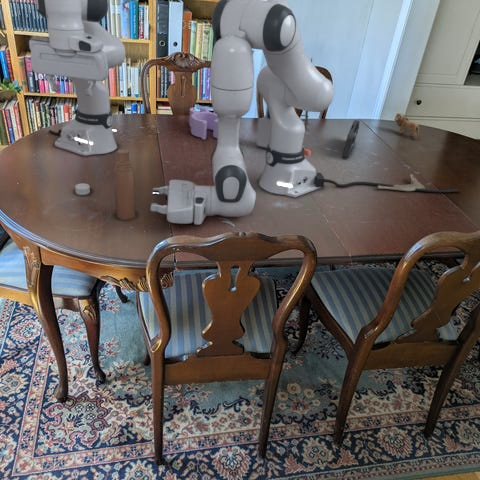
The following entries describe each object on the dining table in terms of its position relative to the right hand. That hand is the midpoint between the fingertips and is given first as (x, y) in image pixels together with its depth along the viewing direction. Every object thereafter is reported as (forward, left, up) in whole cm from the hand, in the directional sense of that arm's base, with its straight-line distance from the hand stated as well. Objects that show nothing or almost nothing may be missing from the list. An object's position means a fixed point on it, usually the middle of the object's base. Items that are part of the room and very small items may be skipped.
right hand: (151, 199), depth 135 cm
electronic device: (-65, -33, -5) cm, 73 cm away
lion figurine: (-137, -26, -5) cm, 140 cm away
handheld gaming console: (-96, -20, -5) cm, 99 cm away
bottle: (+7, -3, -5) cm, 9 cm away
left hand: (+14, -21, +25) cm, 36 cm away
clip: (-47, -59, -5) cm, 75 cm away
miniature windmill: (-93, -53, -5) cm, 107 cm away
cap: (+14, -21, -4) cm, 26 cm away
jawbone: (-90, +12, -5) cm, 91 cm away
